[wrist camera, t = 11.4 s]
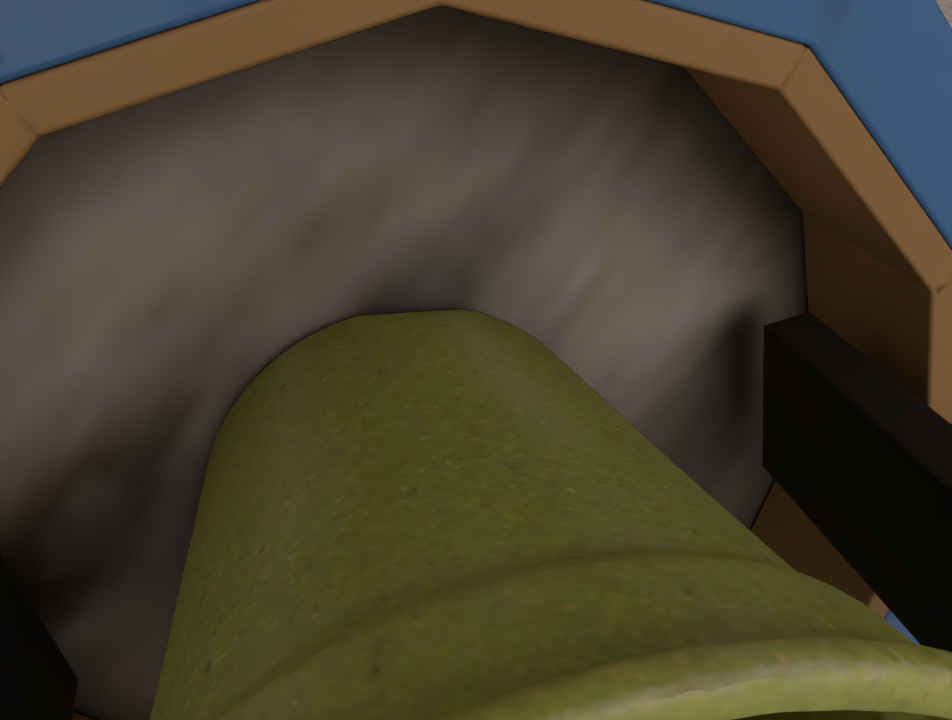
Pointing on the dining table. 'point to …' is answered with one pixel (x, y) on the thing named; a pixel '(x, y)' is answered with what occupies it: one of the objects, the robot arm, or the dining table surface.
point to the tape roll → (653, 36)
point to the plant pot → (493, 557)
